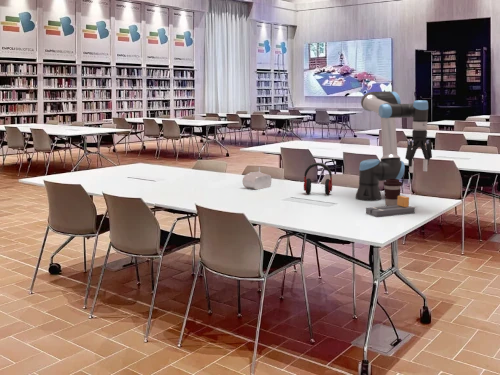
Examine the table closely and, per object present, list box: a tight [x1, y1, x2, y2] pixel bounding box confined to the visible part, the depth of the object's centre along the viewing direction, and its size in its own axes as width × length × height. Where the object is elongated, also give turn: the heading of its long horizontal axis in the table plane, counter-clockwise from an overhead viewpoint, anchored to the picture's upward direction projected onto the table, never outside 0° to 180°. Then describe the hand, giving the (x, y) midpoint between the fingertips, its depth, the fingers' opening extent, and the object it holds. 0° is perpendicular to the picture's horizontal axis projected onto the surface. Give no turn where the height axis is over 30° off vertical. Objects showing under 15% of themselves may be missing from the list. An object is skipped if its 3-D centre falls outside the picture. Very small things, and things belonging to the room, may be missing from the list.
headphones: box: [303, 162, 333, 196], centre depth 379 cm, size 18×10×20 cm, turn 79°
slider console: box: [365, 205, 416, 218], centre depth 323 cm, size 10×24×3 cm, turn 112°
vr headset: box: [242, 166, 272, 190], centre depth 405 cm, size 18×11×14 cm, turn 137°
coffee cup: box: [383, 179, 403, 206], centre depth 342 cm, size 10×10×15 cm
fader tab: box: [397, 194, 410, 207], centre depth 325 cm, size 6×3×7 cm, turn 22°
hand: (418, 171), depth 326 cm, fingers open, 8 cm apart
